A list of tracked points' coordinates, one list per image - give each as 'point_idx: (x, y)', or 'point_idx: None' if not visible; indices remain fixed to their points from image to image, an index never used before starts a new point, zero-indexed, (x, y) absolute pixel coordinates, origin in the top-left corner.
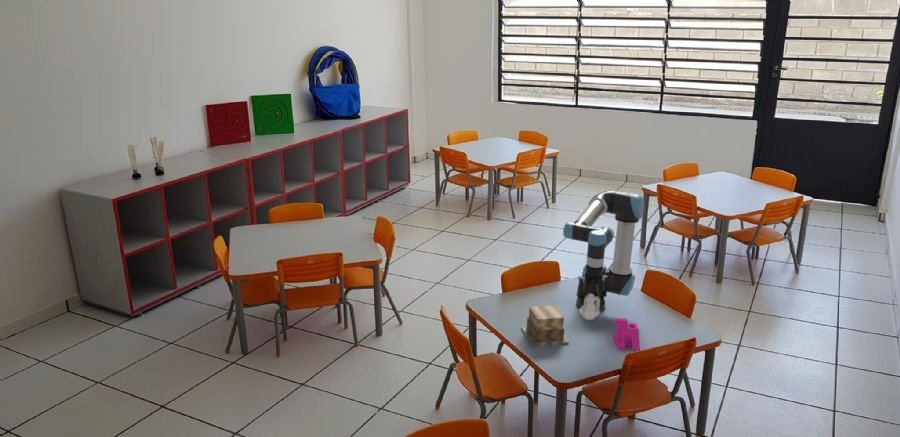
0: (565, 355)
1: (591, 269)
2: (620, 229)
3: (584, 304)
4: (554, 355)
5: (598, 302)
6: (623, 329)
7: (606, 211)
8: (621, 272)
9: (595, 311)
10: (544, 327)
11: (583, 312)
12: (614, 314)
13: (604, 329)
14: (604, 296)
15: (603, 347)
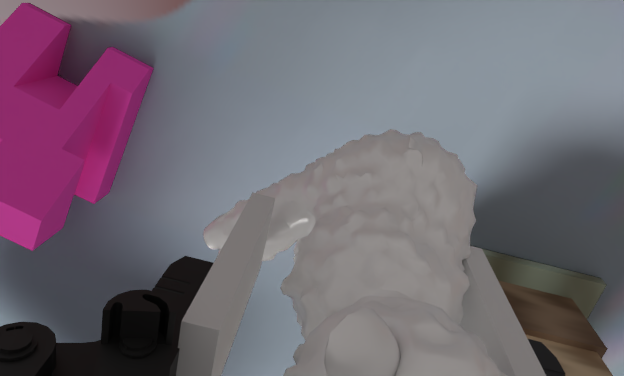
0: (494, 131)
1: None
2: None
3: (519, 335)
4: (555, 157)
5: (240, 278)
6: (37, 146)
7: None
8: None
9: (281, 227)
10: (556, 354)
11: (481, 251)
12: None
13: (120, 267)
14: (50, 337)
15: (224, 118)
